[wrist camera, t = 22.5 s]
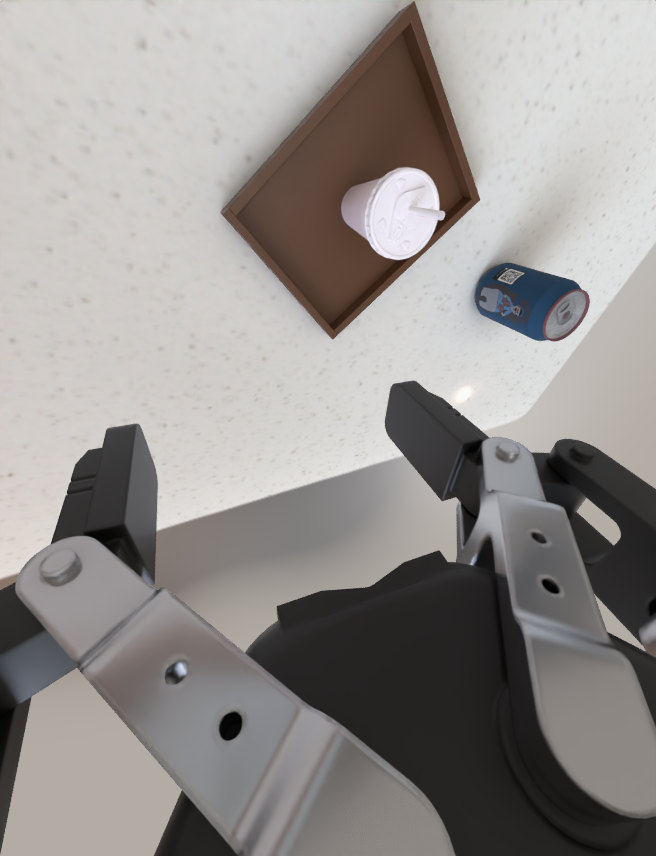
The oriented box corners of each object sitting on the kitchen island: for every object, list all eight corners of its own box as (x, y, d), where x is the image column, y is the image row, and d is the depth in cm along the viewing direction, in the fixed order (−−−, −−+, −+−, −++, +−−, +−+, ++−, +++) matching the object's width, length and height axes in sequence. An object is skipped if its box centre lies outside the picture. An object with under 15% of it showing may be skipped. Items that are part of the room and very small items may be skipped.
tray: (326, 332, 42) (332, 339, 40) (220, 212, 32) (222, 215, 30) (466, 198, 38) (480, 199, 37) (399, 11, 28) (414, 0, 26)
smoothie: (398, 196, 35) (491, 207, 25) (363, 255, 37) (435, 288, 27) (351, 150, 32) (438, 141, 21) (316, 219, 34) (378, 241, 23)
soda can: (518, 291, 48) (596, 319, 39) (478, 323, 49) (544, 358, 40) (508, 248, 44) (593, 269, 35) (464, 285, 45) (535, 314, 36)
